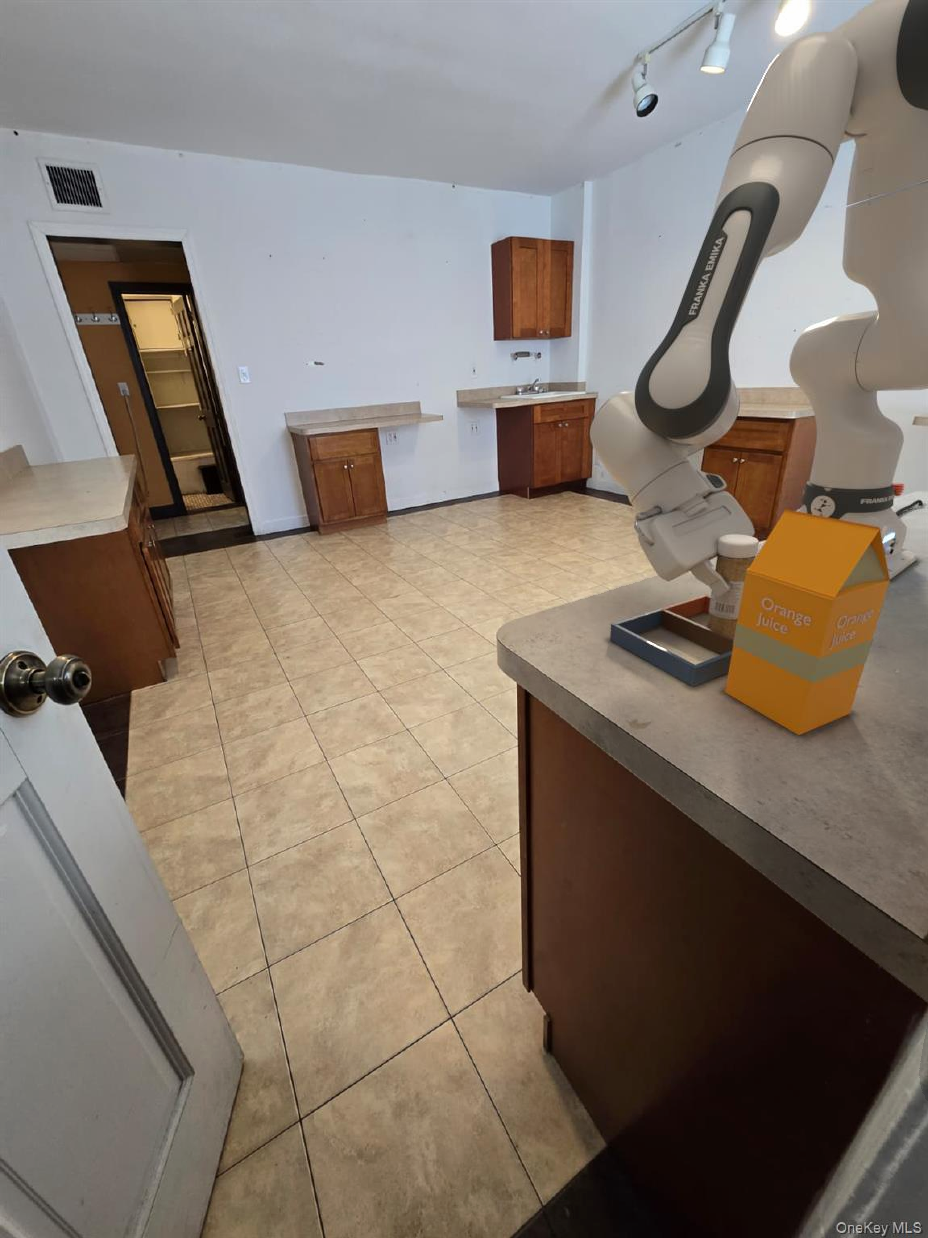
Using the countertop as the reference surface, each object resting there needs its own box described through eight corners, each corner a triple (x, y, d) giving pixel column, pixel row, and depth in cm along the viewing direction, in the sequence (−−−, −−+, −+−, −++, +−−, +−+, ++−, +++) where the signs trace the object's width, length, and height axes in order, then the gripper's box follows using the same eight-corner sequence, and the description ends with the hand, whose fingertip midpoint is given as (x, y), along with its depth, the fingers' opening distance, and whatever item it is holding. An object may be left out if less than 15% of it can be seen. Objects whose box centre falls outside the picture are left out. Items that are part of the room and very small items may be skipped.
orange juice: (798, 736, 50) (850, 535, 41) (723, 692, 57) (754, 514, 49) (851, 713, 52) (910, 520, 44) (773, 674, 60) (810, 502, 51)
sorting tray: (703, 609, 77) (705, 594, 76) (794, 646, 65) (798, 628, 64) (609, 640, 70) (610, 623, 69) (693, 687, 58) (695, 668, 57)
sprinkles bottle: (748, 635, 69) (767, 537, 63) (729, 645, 66) (746, 545, 61) (717, 624, 72) (731, 531, 67) (697, 633, 70) (710, 538, 64)
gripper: (646, 500, 60) (717, 598, 57) (726, 473, 72) (789, 553, 69) (611, 531, 65) (675, 622, 62) (692, 501, 77) (749, 577, 74)
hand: (736, 586), depth 66 cm, fingers closed on sprinkles bottle, 4 cm apart
